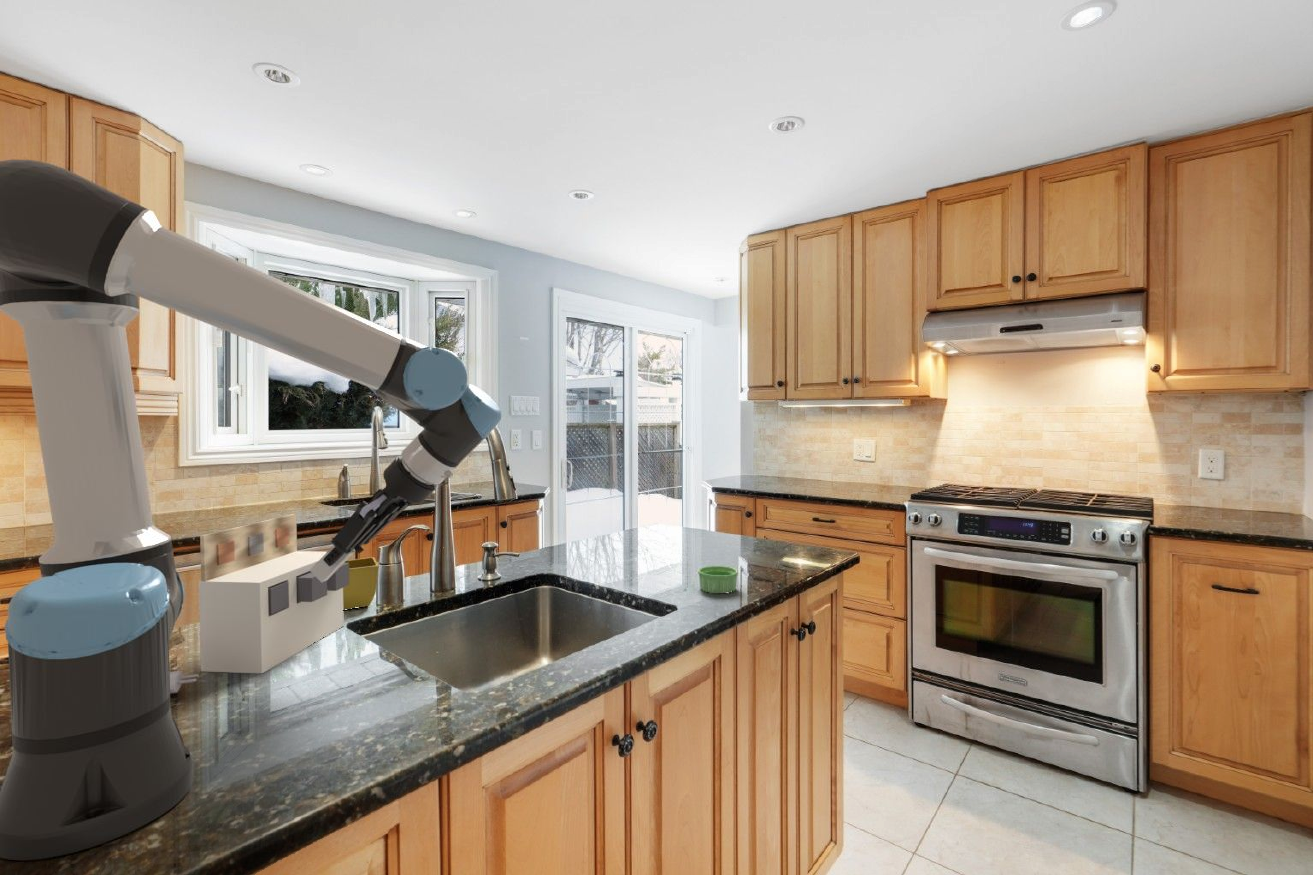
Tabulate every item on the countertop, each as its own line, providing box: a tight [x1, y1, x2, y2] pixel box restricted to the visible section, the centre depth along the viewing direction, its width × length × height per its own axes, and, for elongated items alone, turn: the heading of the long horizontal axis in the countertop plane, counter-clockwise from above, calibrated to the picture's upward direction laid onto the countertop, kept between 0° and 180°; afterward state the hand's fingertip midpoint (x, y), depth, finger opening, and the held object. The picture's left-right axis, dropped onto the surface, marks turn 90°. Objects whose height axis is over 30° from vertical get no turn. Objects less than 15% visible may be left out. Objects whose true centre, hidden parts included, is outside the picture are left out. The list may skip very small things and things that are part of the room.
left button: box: [268, 582, 289, 614], centre depth 97 cm, size 4×3×4 cm
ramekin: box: [697, 565, 739, 594], centre depth 139 cm, size 9×9×4 cm
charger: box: [170, 669, 200, 695], centre depth 84 cm, size 5×9×15 cm
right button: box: [327, 563, 349, 591], centre depth 110 cm, size 4×3×4 cm
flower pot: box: [343, 556, 379, 610], centre depth 126 cm, size 9×9×9 cm
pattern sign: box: [199, 513, 298, 581], centre depth 104 cm, size 21×1×7 cm, turn 175°
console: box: [197, 550, 345, 675], centre depth 104 cm, size 21×10×14 cm, turn 175°
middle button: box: [296, 572, 327, 602], centre depth 104 cm, size 4×3×4 cm
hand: (318, 575), depth 96 cm, fingers closed
